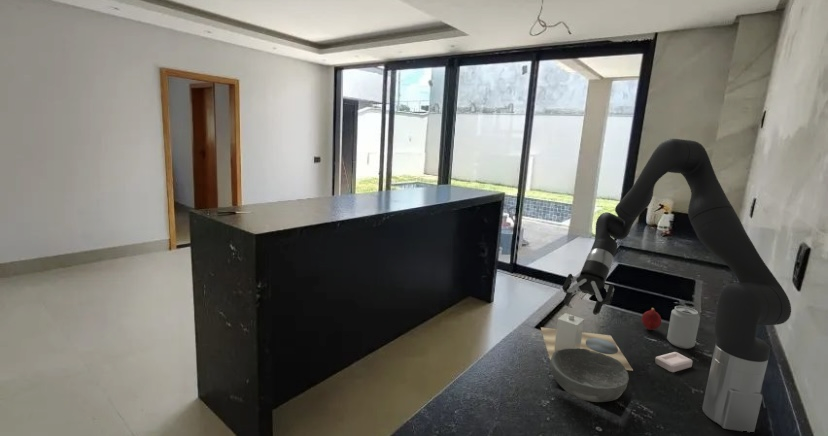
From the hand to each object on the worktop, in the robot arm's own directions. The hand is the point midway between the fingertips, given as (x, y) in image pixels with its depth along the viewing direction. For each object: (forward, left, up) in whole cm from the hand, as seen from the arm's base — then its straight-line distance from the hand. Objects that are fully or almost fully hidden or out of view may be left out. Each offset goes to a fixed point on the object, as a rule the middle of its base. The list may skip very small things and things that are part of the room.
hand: (580, 309), depth 117 cm
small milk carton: (-6, +4, -11) cm, 13 cm away
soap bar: (-4, -26, -13) cm, 30 cm away
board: (-3, -1, -12) cm, 13 cm away
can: (+10, -34, -13) cm, 38 cm away
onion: (+18, -28, -13) cm, 36 cm away
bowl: (-24, +3, -13) cm, 27 cm away
